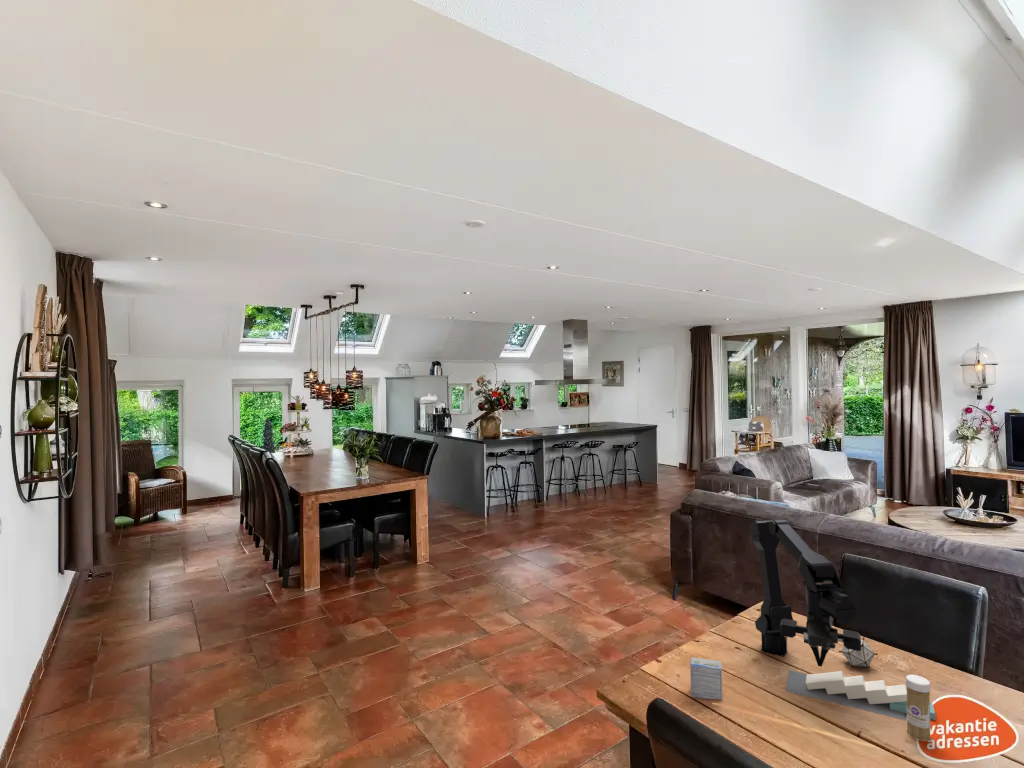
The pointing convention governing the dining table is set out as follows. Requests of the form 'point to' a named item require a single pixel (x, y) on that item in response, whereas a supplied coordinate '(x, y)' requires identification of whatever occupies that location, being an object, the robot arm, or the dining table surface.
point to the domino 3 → (870, 690)
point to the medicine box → (706, 678)
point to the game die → (859, 655)
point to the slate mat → (837, 697)
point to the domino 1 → (825, 680)
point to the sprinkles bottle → (918, 707)
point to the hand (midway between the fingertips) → (820, 665)
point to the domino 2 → (849, 686)
